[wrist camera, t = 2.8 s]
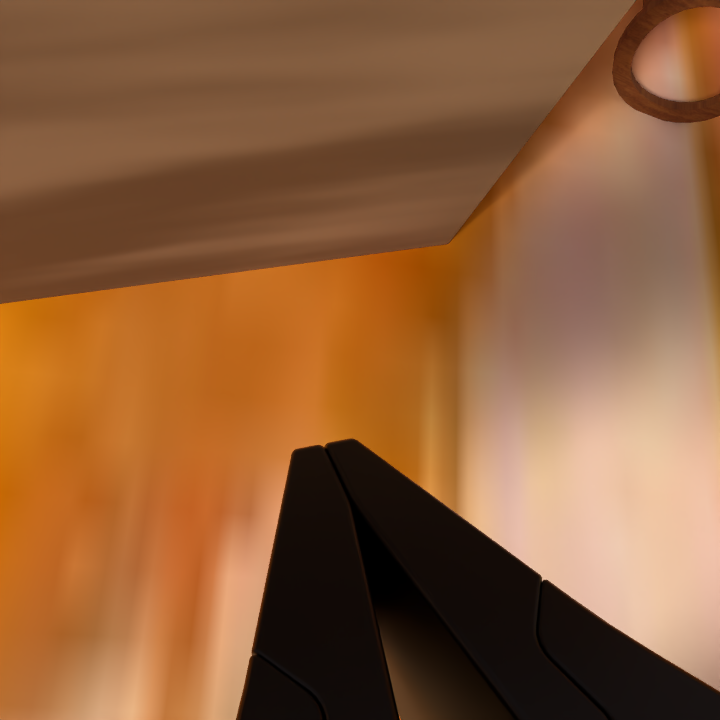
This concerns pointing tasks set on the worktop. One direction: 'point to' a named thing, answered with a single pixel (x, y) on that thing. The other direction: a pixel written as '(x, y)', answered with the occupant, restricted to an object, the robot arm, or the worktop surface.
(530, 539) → the worktop surface
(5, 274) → the t block
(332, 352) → the worktop surface
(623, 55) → the glasses
